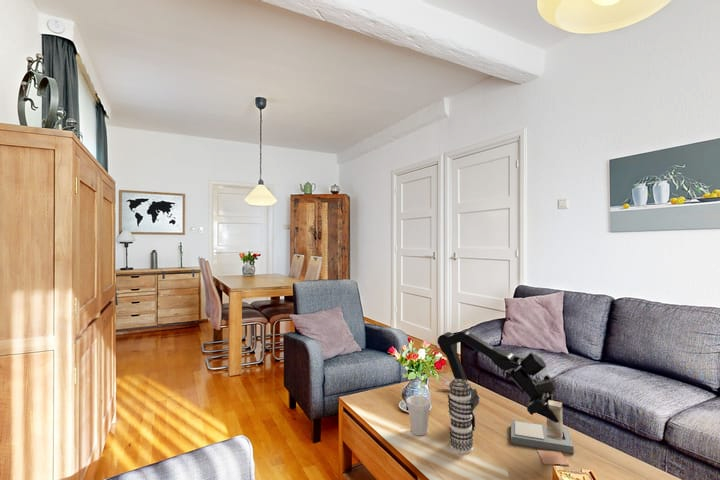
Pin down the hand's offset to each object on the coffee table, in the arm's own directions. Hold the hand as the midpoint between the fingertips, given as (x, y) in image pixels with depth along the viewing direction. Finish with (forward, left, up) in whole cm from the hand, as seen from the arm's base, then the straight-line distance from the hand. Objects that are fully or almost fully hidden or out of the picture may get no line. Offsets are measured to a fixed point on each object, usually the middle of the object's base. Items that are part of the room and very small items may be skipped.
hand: (558, 419), depth 135 cm
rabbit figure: (-32, +52, -13) cm, 63 cm away
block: (-1, +1, -7) cm, 7 cm away
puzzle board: (-4, +10, -12) cm, 16 cm away
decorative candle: (-34, 0, -13) cm, 37 cm away
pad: (-3, -3, -12) cm, 13 cm away
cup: (-50, +9, -13) cm, 53 cm away
